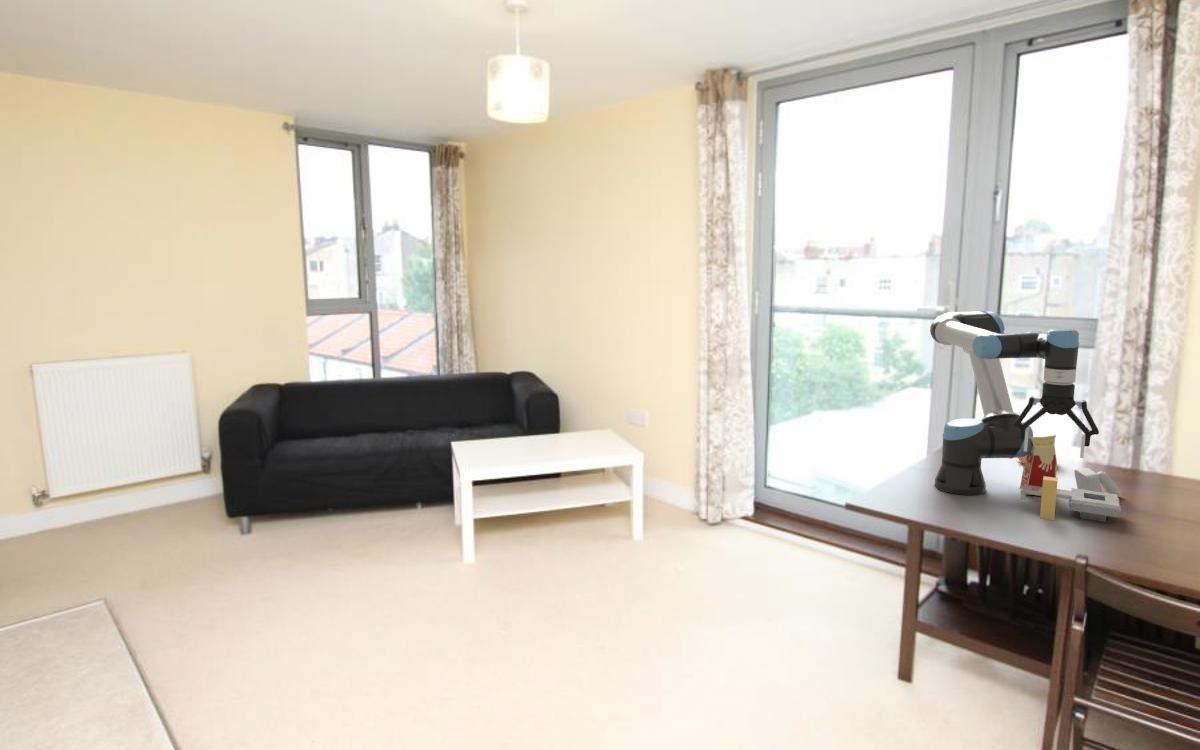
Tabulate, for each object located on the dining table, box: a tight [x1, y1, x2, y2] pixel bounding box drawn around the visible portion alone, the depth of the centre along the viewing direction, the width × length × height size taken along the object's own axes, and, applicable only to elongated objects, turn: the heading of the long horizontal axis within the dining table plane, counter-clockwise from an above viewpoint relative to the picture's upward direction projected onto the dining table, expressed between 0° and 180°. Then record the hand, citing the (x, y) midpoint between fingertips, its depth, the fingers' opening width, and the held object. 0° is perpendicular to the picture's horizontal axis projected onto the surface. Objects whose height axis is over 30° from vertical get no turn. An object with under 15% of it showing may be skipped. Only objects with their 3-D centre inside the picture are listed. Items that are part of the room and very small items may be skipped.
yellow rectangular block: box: [1039, 476, 1059, 521], centre depth 193 cm, size 4×4×12 cm
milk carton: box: [1019, 434, 1058, 497], centre depth 211 cm, size 9×9×20 cm
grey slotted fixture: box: [1020, 484, 1122, 523], centre depth 196 cm, size 24×12×6 cm, turn 54°
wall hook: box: [1073, 467, 1122, 498], centre depth 208 cm, size 8×10×10 cm
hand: (1053, 453), depth 191 cm, fingers open, 13 cm apart
